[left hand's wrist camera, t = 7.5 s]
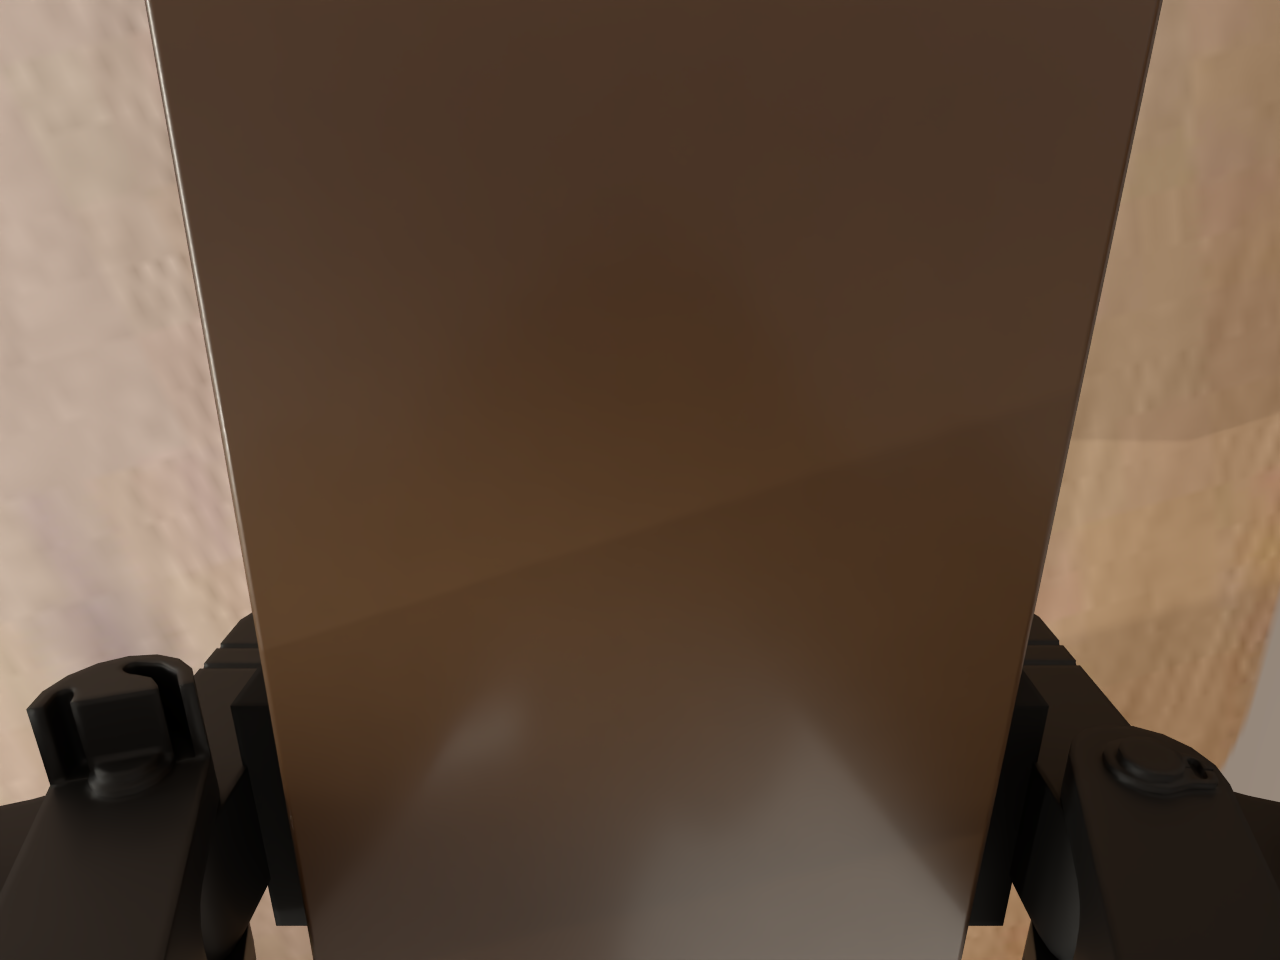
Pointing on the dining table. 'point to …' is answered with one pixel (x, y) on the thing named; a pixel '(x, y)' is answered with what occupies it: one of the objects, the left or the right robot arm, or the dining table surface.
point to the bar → (646, 444)
